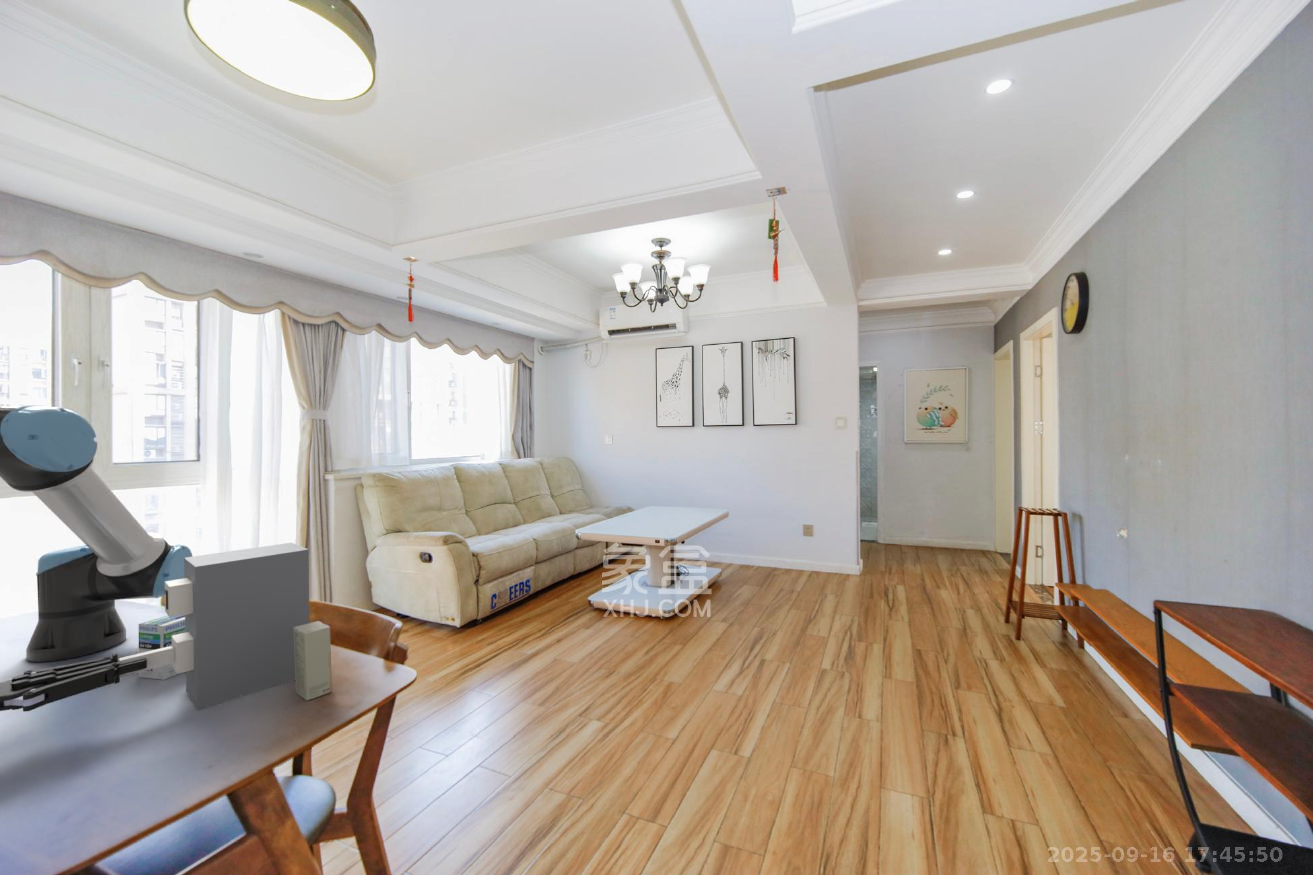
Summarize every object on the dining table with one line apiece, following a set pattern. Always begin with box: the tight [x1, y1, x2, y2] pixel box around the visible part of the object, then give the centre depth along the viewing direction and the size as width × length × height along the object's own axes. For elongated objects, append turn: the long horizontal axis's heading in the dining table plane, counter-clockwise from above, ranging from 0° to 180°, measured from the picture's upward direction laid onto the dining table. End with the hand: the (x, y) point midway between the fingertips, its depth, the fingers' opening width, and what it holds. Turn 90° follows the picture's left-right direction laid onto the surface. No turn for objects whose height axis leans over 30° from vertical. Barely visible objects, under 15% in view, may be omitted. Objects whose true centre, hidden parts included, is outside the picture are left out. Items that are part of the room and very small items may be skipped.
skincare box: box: [293, 620, 333, 701], centre depth 96 cm, size 6×4×12 cm
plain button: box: [171, 632, 194, 675], centre depth 94 cm, size 5×6×5 cm
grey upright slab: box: [184, 542, 311, 711], centre depth 100 cm, size 11×17×25 cm, turn 140°
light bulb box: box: [138, 614, 185, 681], centre depth 107 cm, size 11×7×11 cm, turn 168°
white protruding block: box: [164, 578, 193, 618], centre depth 93 cm, size 5×6×5 cm
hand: (171, 654), depth 92 cm, fingers closed
